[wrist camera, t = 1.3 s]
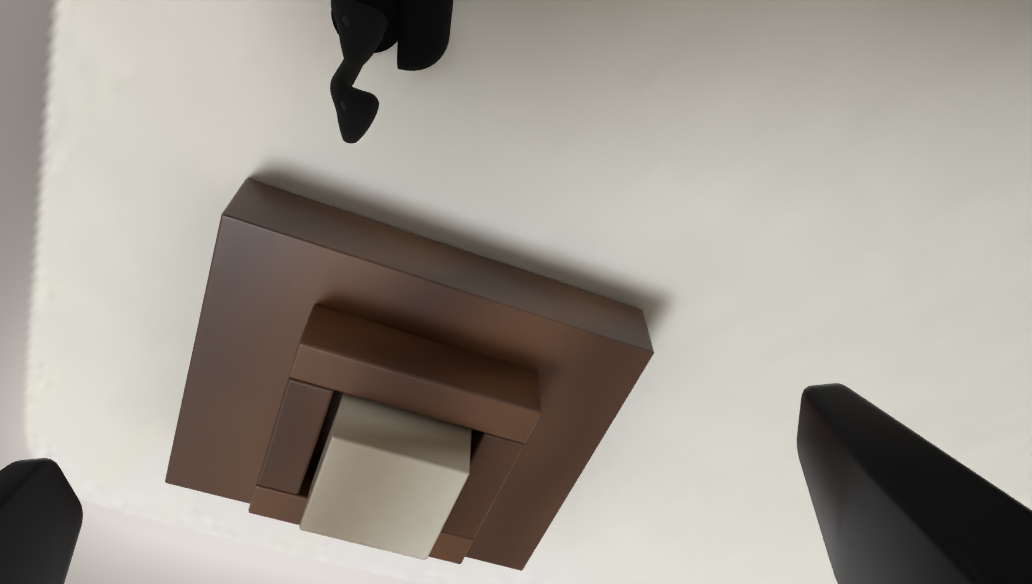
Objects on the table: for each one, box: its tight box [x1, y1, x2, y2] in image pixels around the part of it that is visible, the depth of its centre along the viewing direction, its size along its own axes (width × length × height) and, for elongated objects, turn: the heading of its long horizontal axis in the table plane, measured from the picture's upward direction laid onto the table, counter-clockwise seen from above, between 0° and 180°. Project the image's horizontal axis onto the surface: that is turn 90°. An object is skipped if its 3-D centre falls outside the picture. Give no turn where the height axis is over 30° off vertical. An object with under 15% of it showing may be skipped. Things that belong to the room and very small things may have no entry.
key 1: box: [299, 393, 472, 560], centre depth 21 cm, size 4×4×2 cm
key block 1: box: [165, 179, 654, 570], centre depth 23 cm, size 12×10×4 cm
